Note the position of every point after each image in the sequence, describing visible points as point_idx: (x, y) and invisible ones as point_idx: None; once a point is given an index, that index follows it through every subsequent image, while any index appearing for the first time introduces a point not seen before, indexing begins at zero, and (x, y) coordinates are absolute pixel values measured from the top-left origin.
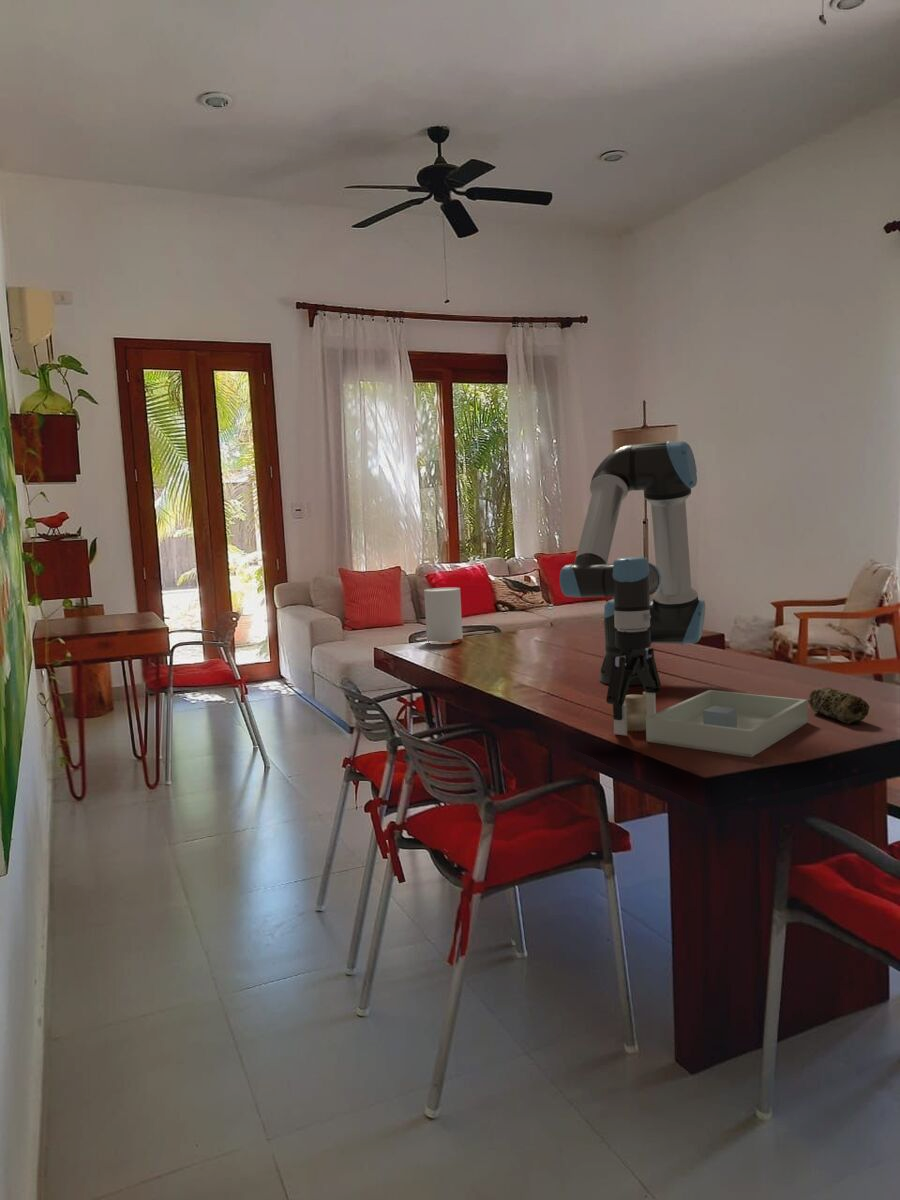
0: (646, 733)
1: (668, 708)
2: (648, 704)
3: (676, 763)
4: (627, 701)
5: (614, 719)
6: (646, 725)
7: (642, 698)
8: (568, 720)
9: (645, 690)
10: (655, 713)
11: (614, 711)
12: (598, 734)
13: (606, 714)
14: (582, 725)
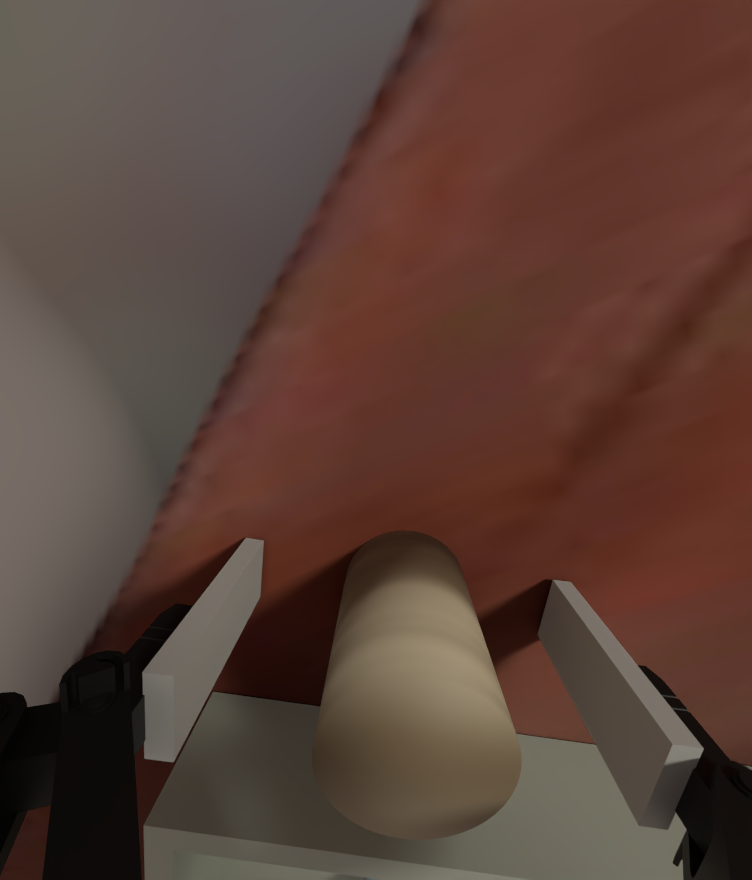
0: (194, 728)
1: (412, 870)
2: (596, 691)
3: (18, 839)
4: (318, 718)
5: (175, 607)
6: (171, 773)
7: (384, 826)
8: (446, 128)
9: (716, 769)
10: (260, 843)
11: (133, 654)
12: (218, 461)
13: (680, 314)
14: (357, 290)
